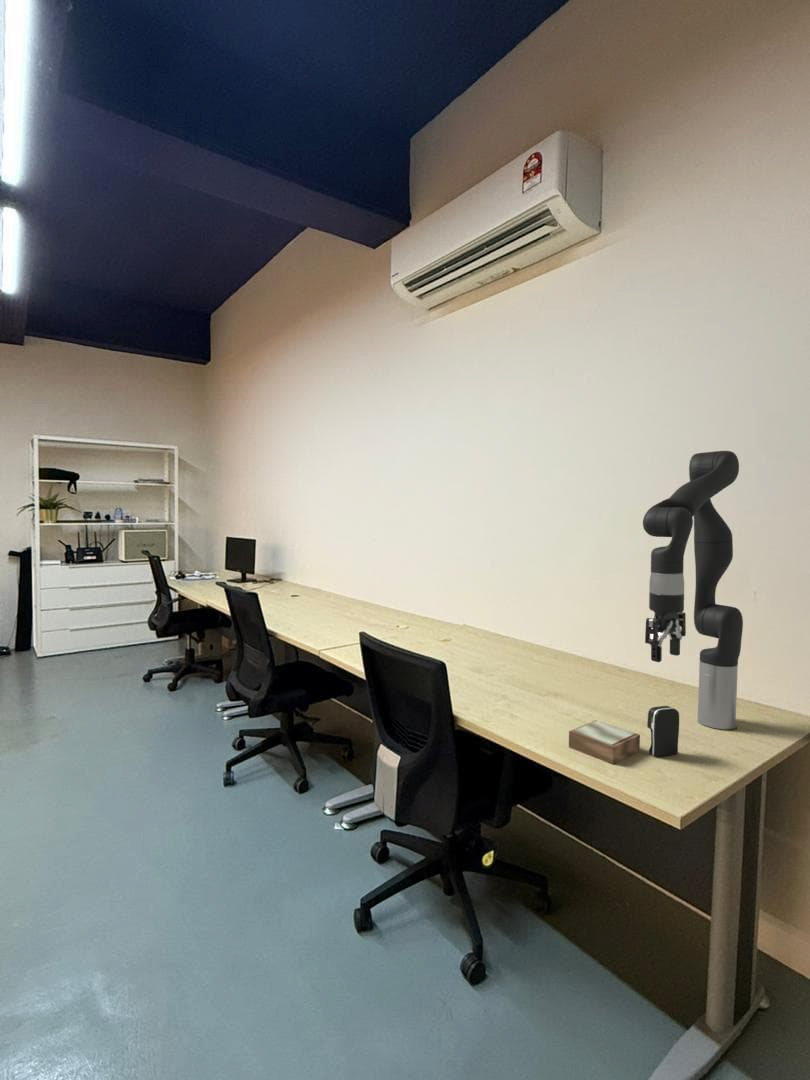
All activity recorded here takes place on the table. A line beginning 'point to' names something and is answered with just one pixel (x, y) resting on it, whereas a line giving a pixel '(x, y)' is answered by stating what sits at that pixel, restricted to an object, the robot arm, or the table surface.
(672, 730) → the battery
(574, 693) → the table surface
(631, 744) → the base
